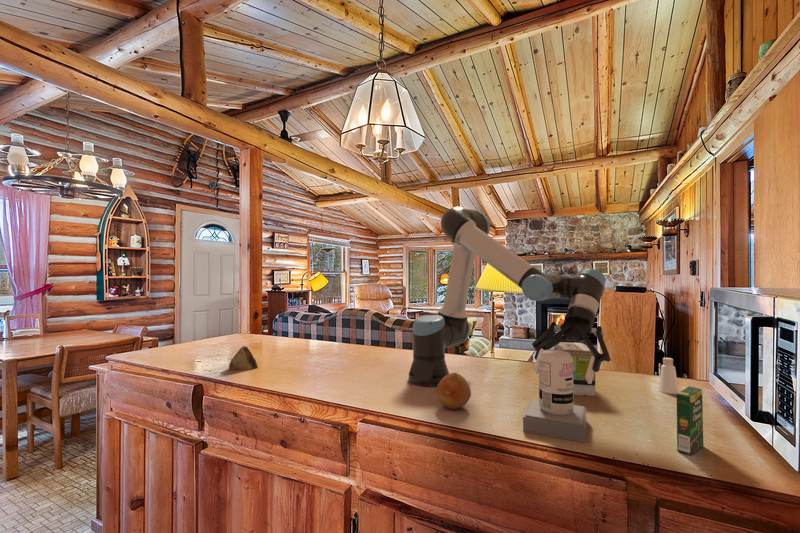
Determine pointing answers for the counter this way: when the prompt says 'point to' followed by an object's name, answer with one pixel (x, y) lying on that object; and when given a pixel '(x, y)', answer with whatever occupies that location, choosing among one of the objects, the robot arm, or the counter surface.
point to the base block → (555, 423)
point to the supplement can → (556, 382)
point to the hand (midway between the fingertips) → (560, 375)
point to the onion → (453, 391)
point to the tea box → (579, 367)
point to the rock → (243, 360)
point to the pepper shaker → (668, 377)
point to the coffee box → (689, 420)
